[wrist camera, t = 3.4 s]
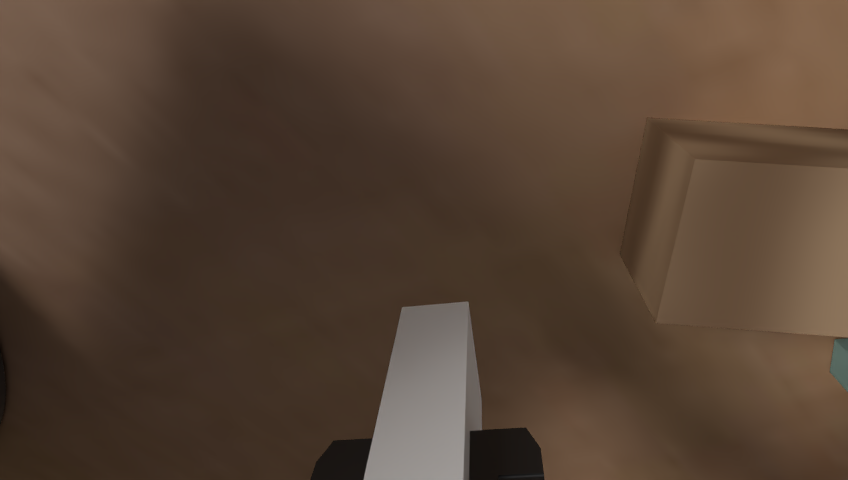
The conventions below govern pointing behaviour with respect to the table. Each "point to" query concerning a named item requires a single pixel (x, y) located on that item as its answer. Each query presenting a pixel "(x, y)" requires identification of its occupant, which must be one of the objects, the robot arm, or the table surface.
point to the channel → (840, 362)
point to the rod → (741, 226)
